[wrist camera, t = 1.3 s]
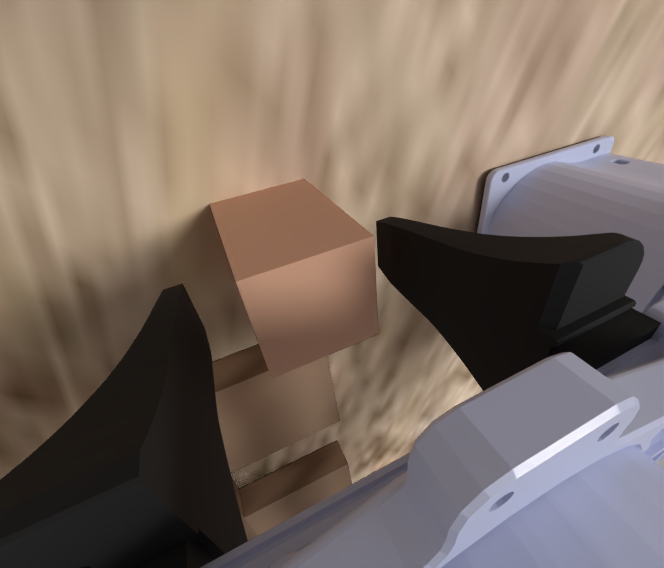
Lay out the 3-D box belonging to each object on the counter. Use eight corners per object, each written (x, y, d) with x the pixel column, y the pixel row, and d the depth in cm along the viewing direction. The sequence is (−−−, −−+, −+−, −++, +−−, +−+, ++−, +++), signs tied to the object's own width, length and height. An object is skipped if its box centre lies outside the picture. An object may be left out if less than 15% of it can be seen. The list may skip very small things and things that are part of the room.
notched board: (312, 323, 18) (325, 347, 17) (345, 478, 30) (355, 500, 29) (121, 397, 16) (116, 433, 14) (239, 534, 28) (244, 562, 26)
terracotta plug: (304, 178, 14) (374, 235, 9) (317, 257, 16) (378, 334, 12) (209, 203, 13) (235, 282, 8) (239, 284, 15) (271, 378, 11)
